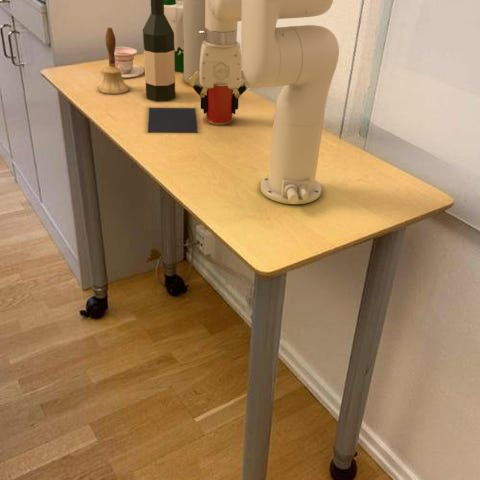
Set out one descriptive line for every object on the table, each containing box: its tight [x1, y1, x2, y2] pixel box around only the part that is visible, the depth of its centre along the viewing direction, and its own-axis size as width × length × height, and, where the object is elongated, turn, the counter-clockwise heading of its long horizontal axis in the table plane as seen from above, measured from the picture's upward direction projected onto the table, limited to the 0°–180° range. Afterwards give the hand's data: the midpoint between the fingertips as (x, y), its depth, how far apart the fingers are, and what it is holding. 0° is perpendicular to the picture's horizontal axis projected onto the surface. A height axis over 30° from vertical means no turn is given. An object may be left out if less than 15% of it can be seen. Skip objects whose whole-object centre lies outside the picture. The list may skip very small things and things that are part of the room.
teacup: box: [103, 46, 145, 79], centre depth 173 cm, size 12×12×6 cm
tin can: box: [205, 84, 234, 126], centre depth 146 cm, size 7×7×10 cm
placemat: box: [147, 107, 199, 134], centre depth 148 cm, size 16×12×1 cm
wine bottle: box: [142, 0, 176, 102], centre depth 151 cm, size 8×8×30 cm
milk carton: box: [164, 0, 184, 73], centre depth 174 cm, size 9×9×20 cm
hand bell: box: [98, 27, 130, 95], centre depth 158 cm, size 8×8×16 cm
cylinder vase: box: [182, 0, 205, 87], centre depth 164 cm, size 12×12×25 cm
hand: (219, 111), depth 148 cm, fingers closed on tin can, 6 cm apart
